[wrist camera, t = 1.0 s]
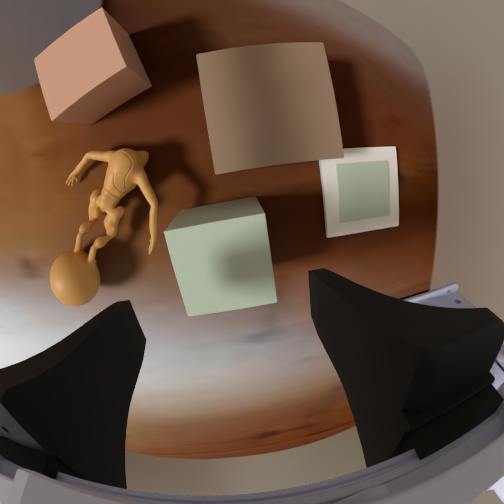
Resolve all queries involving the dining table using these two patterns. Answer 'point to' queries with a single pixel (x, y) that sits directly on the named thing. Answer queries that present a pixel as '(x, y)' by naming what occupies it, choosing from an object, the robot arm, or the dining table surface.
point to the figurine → (115, 187)
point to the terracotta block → (90, 71)
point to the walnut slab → (269, 105)
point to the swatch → (360, 190)
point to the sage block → (222, 256)
